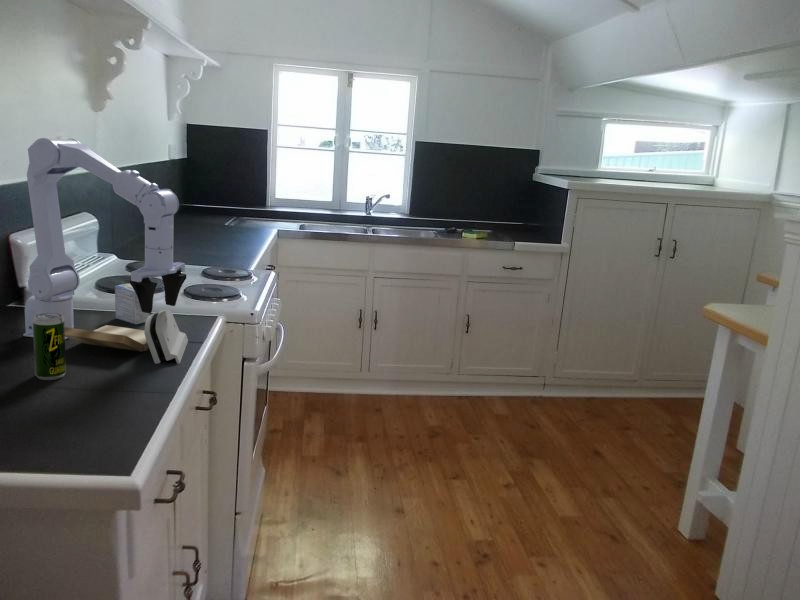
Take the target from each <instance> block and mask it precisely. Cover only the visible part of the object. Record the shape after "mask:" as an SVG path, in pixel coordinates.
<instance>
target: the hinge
mask: <svg viewBox="0 0 800 600" xmlns="http://www.w3.org/2000/svg"><path fill="white" fill-rule="evenodd" d="M144 330H145V331H144V334H145V337H146V340H147V343H148V346H149V349H148V350H149V351H150V353H151V356H152V360H153V362H154V364H160V363H161V362H162V361H163V360H164V361H165V360H166V362H167V361H171V360H173V359H175V362H176V364H177V365H178V364H181V361H182V358H183V356H184V353H185V350H186V348H187V345H188V343H189V339H188V336H187V334H186V333H185V332H183V331H180V329H179V327H178V323H177V321H176V319H175V317H174V314H173V313H172V310H170V309H165V310H164V309H163V310H160V311H158V312H157V311H155V312H153V313H150V316H148V318H147V320H146V323H144Z"/></svg>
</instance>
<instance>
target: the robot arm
mask: <svg viewBox="0 0 800 600" xmlns="http://www.w3.org/2000/svg"><path fill="white" fill-rule="evenodd" d="M27 153H28V167H27V171H26V179H27V180H26V181H27V185H28V186H27V187H28V193H29V194H28V195H29V200H30V201H29V202H30V209H31V210H30V211H31V218H32V223H33V229H34V230H33V231H34V238H35V246H36V251H37V252H36V253H37V256H36V257H35V259H34V260H33V261H32V263H30V265H29V267H28V268H29V276H28V281H27V286H28V290H29V292H30V293H31V296H30V297H28V298H27V300H26V302H25V304H24V305H25V306H24V320H25V321H24V323H25V324H24V325H25V333H23V335H22V336H23V337H29V338H33V320H34V316H35V315H37V314H41V313H59V314H62V315H63V319H64V327H68V328H75V327H74V325H75V324H74V298H73V297H74V296H75V291H76V290H77V289H78V288H79V285H80V282H81V280H80V275H79V273H78V271H77V269H76V266H75V261H74V259H73V258H72V257H71V256H69V255H68V254H66V250H65V249H66V248H65V239H64V232H63V226H62V225H63V223H62V215H61V210H60V201H59V195H58V186H57V183H58V182H59V181H60V180H61V179H62V178H63V177H64V176H65V175H66V174H67V173H69V172H71V171H73V170H76V169H78V168H81V169H83V170H85V171H88V173H90V174H93V175H95V176H96V177H98V178H100V179H102V180H103V181H105V182H107V183H109V184H111V185H112V188H113V192H114V193H115V194H116V195H118V196H119V197H121V198H123V199H125V200H126V201H127V202H129V203H131V204H133V205H134V206H136V207H137V208H138V210H139V212H140V213H141V215H142V216H143V224H144V266H142V267H140V268H138V269H136V270H133V271H131V272H130V279H129V284H131V286H132V287H133V289H134V291H135V292H136V295H137V297H138V300H139V303H140V307H141V310H142V312H145V313H149V314H152V312H153V306H154V305H153V304H154V295H155V291H156V288H157V286H158V282H154V281H152V280H150V279H153V278H158V277H161V280H162V283H163V288H164V289H163V290H164V301H165V305H167V306H170V307H175V306H176V304H177V301H178V297H179V293H180V291H181V288H182V287H183V284H184V283H185V281H186V280H187V274H186V273H184V272H186V271H185V270H186V263H185V262H179V261H177V262H176V261H175V262H174V225H175V223H174V219H175V218H174V216H175V215H176V213H178V210H179V208H180V202H179V199H178V196H177V195H176V193H174V192H173V191H172V189H170V188H161V189H160V188H159V185H158V184H156V183H155V182H153V183H152V182H150V181H149V180H147V179H145V178H144V177H142V176H140V174H141V173H140V172H139V171H137V170H135V169H133V170H131V169H126V170H120V169H119V168H117V167H116V166H114V165H113V164H112V163H110V162H109V161H107V160H106V159H105V158H103V157H102V156H100V155H99V154H97V153H95V152H94V151H93V150H92V149H90V148H89V147H88V145H87V144H85V143H81V142H80V141H79V140H77V139H75V138H46V137H41V138H37V139H36V140H35V141H34V142H33V143H32V144H31V145H30V146H29V147H28V148H27ZM68 339H69V338H67V337H65V340H68Z"/></svg>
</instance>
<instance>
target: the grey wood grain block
mask: <svg viewBox="0 0 800 600" xmlns="http://www.w3.org/2000/svg"><path fill="white" fill-rule="evenodd" d="M114 302H115V303H114V305H115V319H117V320H120V321H123V322H126V323H129V324H133V325H140V324H145V323H146V320H147V318H148V316H150V315H151V313H145V312H142V310H141V307H140V303H139V300H138V297H137V295H136V292H135V291H134V289H133V287H132V286H131V284H130V283H122V284H118V285H115V286H114Z"/></svg>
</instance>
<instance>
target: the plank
mask: <svg viewBox="0 0 800 600" xmlns="http://www.w3.org/2000/svg"><path fill="white" fill-rule="evenodd" d="M65 337H67V338H68V339H70V340H71V341H72V340H73V341H75V342H77V343H80V344H87V345H92V346H93V345H94V346H100V347H106V348H113V349H121V350H127V351H128V350H129V351H134V352H140V353H142V352H143V351H142V349H143V346H144V344H142V343H139V342H137V341H135V340H133V339H131V338H129V337H127V336H124V335H117V334H110V333H103V332H96V331H94V330H89V329H82V328H75V327H74V328H68V327H65Z"/></svg>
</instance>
